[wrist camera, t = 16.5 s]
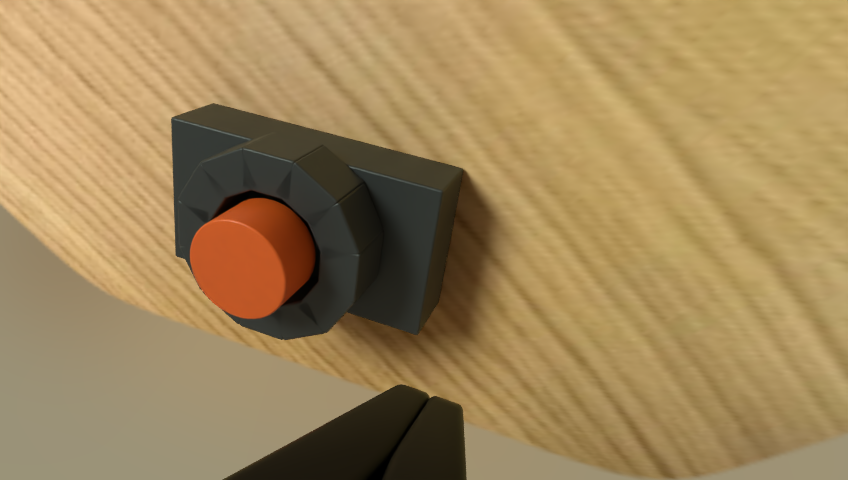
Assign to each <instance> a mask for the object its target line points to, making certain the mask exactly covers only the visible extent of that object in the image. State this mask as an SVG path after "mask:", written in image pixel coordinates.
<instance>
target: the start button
mask: <svg viewBox="0 0 848 480" xmlns="http://www.w3.org/2000/svg"><path fill="white" fill-rule="evenodd" d="M315 261H316V252H315V246H314V242H313V239H312V236H311V234H310V232H309V230H308V228H307V227H306V225H305V223H304V222H303V221H302V220H301V218H300V217H299V216H298V215H297V214H296V213H295V212H293V211H292V210H291V209H290V208H288V207H287V206H285V205H283V204H281V203H279V202H277V201H274V200H271V199H266V198H252V199H248V200H245V201H243V202H241V203H239V204H238V205H236V206H234V207H233V208H231V209H229V210H228V211H226V212H224V213H223V214H221V215H219V216H218V217H216V218H214V219H213V220H211V221H209V222H208V223H206V224H204V225H203V226H202V227H201V228H200V229H199V230H198V231H197V232H196V234H195V236H194V238H193V240H192V243H191V248H190V262H191V267H192V271H193V274H194V276H195V279H196V281H197V283H198V284H199V286H200V288H201V289H202V291H203V292H204V293H205V294H206V296H207V297H208V298H209V299H210V300H211V301H212V302H213V303H214V304H215V305H217V306H218V307H219V308H221V309H222V310H224V311H226V312H227V313H229V314H232V315H234V316H237V317H240V318H245V319H258V318H263V317H266V316H268V315H271V314H272V313H273V312H275V311H276V310H277V309H278V308H279V307H280V306H281V305H283V304H284V303H285V302H286V301H287V300H288V299H289V298H290V297H291V296H292V295H293V294H294V293H295V292H296V291H298V290H299V289H300V288H301V287H302V286H303V285H304V284H305V283H306V282H307V281H308V280H309V278H310V277H311V275H312V273H313V270H314V267H315Z"/></svg>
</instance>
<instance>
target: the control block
mask: <svg viewBox="0 0 848 480" xmlns="http://www.w3.org/2000/svg"><path fill="white" fill-rule="evenodd" d="M171 123H172V155H173V186H174V217H175V248H176V256H177V257H180V258H183V259H185V260H186V262H187V264H188V266H189V268H190V270H191V272H192V274H193V271H192V267H191V262H190V248H191V243H192V240H193V238H194V236H195V234H196V232H197V231H198V230H199V229H200V228H201V227H202V226H203V225H204V224H206V223H208V222H209V221H211V220H213V219H214V218H216V217H218V216H219V215H221V214H223V213H224V212H226V211H228V210H229V209H231V208H233V207H234V206H236V205H238V204H239V203H241V202H243V201H245V200H248V199H252V198H266V199H271V200H274V201H277V202H279V203H281V204H283V205H285V206H287V207H288V208H290V209H291V210H292V211H293V212H295V213H296V214H297V215H298V216H299V217H300V218H301V220H302V221H303V222H304V223H305V225H306V227H307V228H308V230H309V232H310V234H311V236H312V239H313V242H314V246H315V252H316V261H315V267H314V270H313V273H312V275H311V277H310V278H309V280H308V281H307V282H306V283H305V284H304V285H303V286H302V287H301V288H300V289H299V290H298V291H296V292H295V293H294V294H293V295H292V296H291V297H290V298H289V299H288V300H287V301H286V302H285V303H284V304H283V305H281V306H280V307H279V308H278V309H277V310H276V311H275V312H273V313H272V314H271V315H268V316H266V317H263V318H258V319H245V318H240V317H237V316H234V315H232V314H229V313H227V312H226V311H224V310H223V311H224V312H225V313H226V314H227V315H228V316H229V317H231V318H232V319H233V320H234V321H235V322H236V323H238V324H240V325H241V326H243V327H246V328H249V329H252V330H255V331H258V332H260V333H263V334H266V335H269V336H272V337H275V338H278V339H281V340H283V339H284V340H289V339H295V338H300V337H306V336H312V335H318V334H323V333H327V332H328V331H329V330H330V329H331V328H332V327H333V326H334V325H335V324H336V323H337V322H338V321H339V319H340V318H341V317H342V316H343V315H344V314H345V313H346V312H348V313H351V314H354V315H357V316H360V317H363V318H366V319H369V320H372V321H375V322H378V323H381V324H384V325H388V326H391V327H394V328H397V329H400V330H403V331H406V332H409V333H412V334H415V335H418V334H419V332H420V331H421V329H422V327H423V326H424V324H425V323H426V321H427V319H428V318H429V316H430V315H431V313H432V312H433V310H434V308H435V307H436V305H437V304H438V302H439V296H440V291H441V286H442V281H443V275H444V270H445V265H446V259H447V254H448V249H449V244H450V238H451V233H452V228H453V223H454V217H455V212H456V207H457V201H458V196H459V191H460V186H461V180H462V175H463V169H462V168H459V167H455V166H452V165H448V164H444V163H440V162H436V161H432V160H429V159H425V158H421V157H417V156H413V155H409V154H406V153H402V152H398V151H394V150H390V149H386V148H383V147H379V146H375V145H371V144H367V143H363V142H360V141H356V140H352V139H348V138H344V137H340V136H337V135H333V134H329V133H325V132H321V131H317V130H314V129H310V128H306V127H302V126H298V125H294V124H291V123H287V122H283V121H279V120H275V119H271V118H268V117H264V116H260V115H256V114H252V113H248V112H245V111H241V110H237V109H233V108H229V107H225V106H222V105H218V104H214V103H213V104H210V105H207V106H204V107H201V108H198V109H195V110H192V111H189V112H186V113H183V114H180V115H178V116H175V117H172V119H171ZM193 276H194V274H193ZM194 278H195V276H194ZM195 280H196V279H195ZM196 282H197V281H196ZM197 284H198V283H197ZM198 286H199V284H198ZM199 288H200V286H199ZM200 289H201V288H200ZM201 290H202V289H201ZM203 293H204V292H203ZM204 294H205V293H204ZM205 295H206V294H205Z"/></svg>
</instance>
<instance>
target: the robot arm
mask: <svg viewBox="0 0 848 480" xmlns="http://www.w3.org/2000/svg"><path fill="white" fill-rule="evenodd" d="M223 480H466V461H465V441H464V421H463V409H462V407H461V405H459V404H457V403H454V402H451V401H449V400H446V399H443V398H440V397H437V396H434V397H431V398H429V395H428V394H427V393H426V392H423V391H420V390H417V389H415V388H412V387H409V386H406V385H397V386H394V387H393V388H391V389H389V390H387V391H385V392H383V393H382V394H380V395H378V396H376V397H374V398H372V399H370V400H369V401H367V402H365V403H363V404H361V405H359V406H358V407H356V408H354V409H352V410H350V411H349V412H346V413H345V414H343V415H341V416H339V417H337V418H335V419H334V420H332V421H330V422H328V423H326V424H324V425H323V426H321V427H319V428H317V429H315V430H313V431H311V432H310V433H308V434H306V435H304V436H302V437H300V438H299V439H297V440H295V441H293V442H291V443H289V444H288V445H286V446H284V447H282V448H280V449H278V450H276V451H275V452H273V453H271V454H270V455H267V456H265V457H264V458H262V459H260V460H258V461H256V462H254V463H252V464H251V465H249V466H247V467H245V468H243V469H241V470H240V471H238V472H236V473H234V474H232V475H230V476H228V477H227V478H225V479H223Z"/></svg>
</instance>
